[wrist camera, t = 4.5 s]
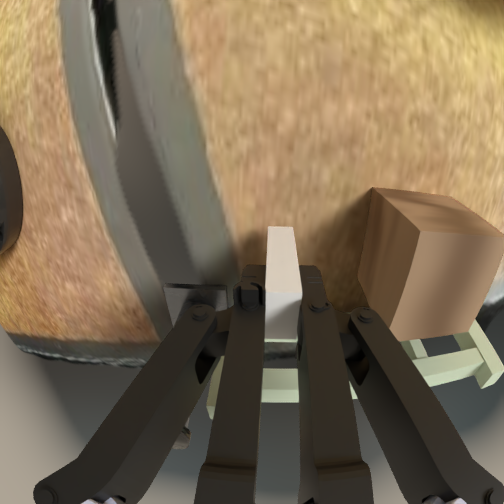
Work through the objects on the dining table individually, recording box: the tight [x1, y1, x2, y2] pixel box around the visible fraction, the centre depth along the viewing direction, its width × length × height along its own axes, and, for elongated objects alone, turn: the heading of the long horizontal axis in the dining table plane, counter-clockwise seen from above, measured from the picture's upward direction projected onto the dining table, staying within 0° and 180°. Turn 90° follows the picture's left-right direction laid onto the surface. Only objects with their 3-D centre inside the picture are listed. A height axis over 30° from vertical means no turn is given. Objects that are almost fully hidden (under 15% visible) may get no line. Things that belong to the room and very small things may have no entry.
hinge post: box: [163, 283, 228, 449], centre depth 17 cm, size 5×5×12 cm
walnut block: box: [357, 187, 504, 341], centre depth 15 cm, size 7×7×7 cm
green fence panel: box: [206, 312, 504, 419], centre depth 17 cm, size 22×2×8 cm, turn 91°
